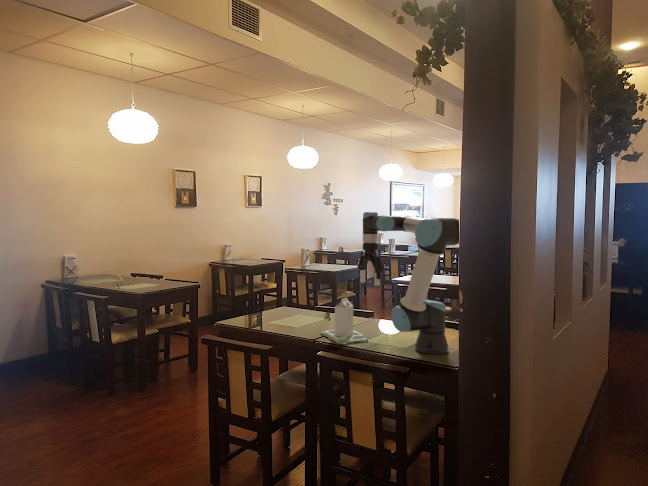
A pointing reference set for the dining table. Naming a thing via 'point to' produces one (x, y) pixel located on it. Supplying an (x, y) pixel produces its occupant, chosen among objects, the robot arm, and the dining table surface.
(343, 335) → the milk carton
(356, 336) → the shallow tray
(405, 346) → the dining table surface
